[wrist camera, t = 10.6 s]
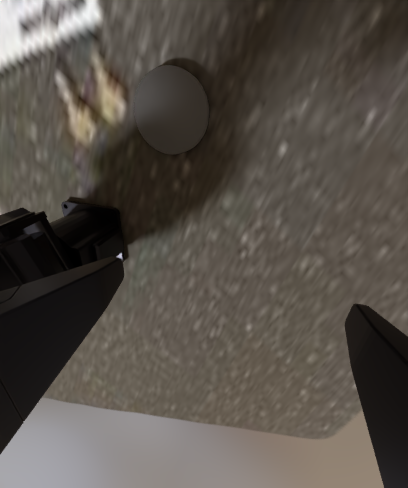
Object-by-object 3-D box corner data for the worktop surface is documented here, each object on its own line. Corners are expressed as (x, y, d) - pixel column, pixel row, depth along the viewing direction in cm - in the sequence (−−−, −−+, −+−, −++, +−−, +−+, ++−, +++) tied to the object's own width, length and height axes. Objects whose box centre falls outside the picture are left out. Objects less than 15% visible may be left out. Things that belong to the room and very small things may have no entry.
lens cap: (141, 150, 21) (136, 150, 20) (135, 66, 18) (130, 64, 17) (206, 156, 20) (204, 157, 19) (212, 68, 17) (210, 66, 16)
